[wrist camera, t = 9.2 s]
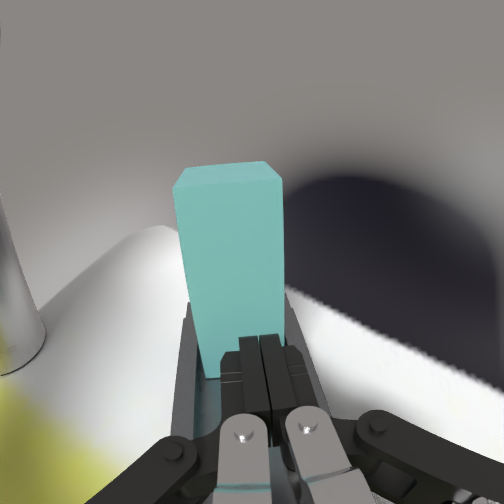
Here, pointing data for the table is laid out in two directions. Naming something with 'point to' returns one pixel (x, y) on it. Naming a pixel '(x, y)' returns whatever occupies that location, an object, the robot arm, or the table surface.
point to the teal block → (231, 254)
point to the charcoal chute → (209, 397)
